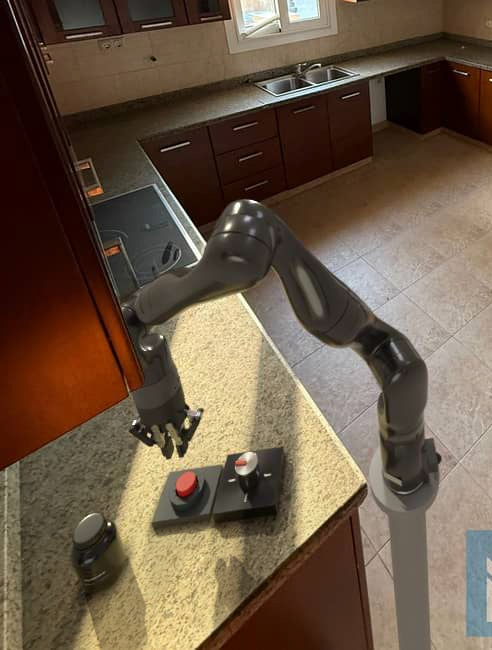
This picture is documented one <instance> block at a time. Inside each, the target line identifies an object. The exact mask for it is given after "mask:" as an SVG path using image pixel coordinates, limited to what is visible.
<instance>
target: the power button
mask: <svg viewBox="0 0 492 650" xmlns="http://www.w3.org/2000/svg"><path fill="white" fill-rule="evenodd" d="M196 485H197V480H196V477H195V474H194V473H193V472H186V473H184V474H183V475H181V476H180V478H179V479H178V481H177V483H176V490H177V493H178V495H179V496H180V497H186V496H188V495H190V494H191V493H192V492H193V491H194V489H195V488H196Z"/></svg>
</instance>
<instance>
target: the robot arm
mask: <svg viewBox="0 0 492 650" xmlns="http://www.w3.org/2000/svg"><path fill="white" fill-rule="evenodd" d="M271 269H272V270H273V272H274V273H275V274H276V275H277V278H278V280H279V282H280V284H281V286H282V288H283V291H284V295H285V296H286V299H287V301H288V304H289V307H290V309H291V311H292V313H293V315H294V317H295V319H296V321H297V322H298V324H299V326H301V328H302V329H304V330H305V331H306V332H307V333H308V334H310V335H311V336H313V337H314V338H315V339H317V340H318V341H319V342H320V343H322V344H323V345H325V346H327V347H330V348H333V349H338V350H339V349H340V350H341V349H348V348H349V349H351V350H352V351H353V352H355V354H357V355H358V356H359V358H361V359H362V360H363V362H364V363H365V364H366V365H367V367H368V369H369V370H370V372H371V374H372V376H373V378H374V380H375V382H376V383H377V385H378V387H379V389H380V390H381V392H380V393H379V395H378V397H377V402H376V412H377V413H376V414H377V423H378V436H379V446H380V449H381V461H382V477H383V480H384V483H385V485H386V486H387V488H388V489H389V490H390V491H391V492H393V493H395V494H397V495H401V496H407V495H411V494H413V493H415V492H416V491H418V490H419V489H420V488H421V486H422V485H423V484H426V483H428V474H429V473H435V472H438V464H439V465H440V464H441V463H442V461H443V458H442V455H441V454H440V453H439V452H438V451H437V450H436V443H435V438H434V437H428V438H426V433H425V432H426V431H425V409H426V407H427V403H428V397H429V396H428V395H429V370H428V367H427V363H426V362H425V360H424V359H423V357H422V355H420V353H419V351H418V349H416V347H415V346H414V344H413V343H412V341H411V340H410V338H408V337H407V336H406V335H405V334H404V333H403V332H402V331H400V330H398V329H397V328H396V327H394V326H392V325H390V324H389V323H387V322H386V321H384V320H383V319H381V318H380V317H379V316H377V315H376V314H375V312H374V311H373V310H372V308H371V307H370V306H369V305H368V304H367V303H366V302H365V301H364V300H363V299H362V298H361V297H360V296H359V295H358V294H357V293H356V292H355V291H354V290H353V289H352V288H351V287H350V286H348V284H347V283H345V282H344V281H343V280H342V279H340V278H339V277H337V276H336V275H335V274H334V273H333V272H332V271H331V270H330V269H329V268H328V267H327V266H326V265H324V263H322V262H321V261H320V259H318V258H317V257H316V255H314V254H313V253H312V252H311V251H310V250H309V249H308V247H306V245H305V244H304V243H303V241H301V239H300V238H299V237H298V236H297V235H296V234H295V232H294V231H293V230H292V229H291V228H290V227H289V225H288V224H287V223H286V222H285V221H284V220H283V218H281V217H280V216H279V214H278V213H276V212H275V211H274V210H273V209H271V208H269V207H268V206H266V205H264V204H263V203H261V202H258V201H255V200H252V199H237V200H236V199H235V200H234V201H231V202H230V203H229V204H228V205H226V206H225V208H224V209H223V211H222V212H221V214H220V216H219V217H218V220H217V222H216V224H215V225H214V227H213V229H212V231H211V234H210V235H209V238H208V239H207V241H206V244H205V246H204V249H203V254H202V256H201V258H200V259H199V260H198V262H197V263H196V265H194V267H193V268H192V267H188V266H177V267H174V268H171V269H169V270H167V271H165V272H163V273H161V274H160V275H159V276H157V277H155V278H154V279H152V281H150V282H148V283H146V284H145V285H143V286H141V287H140V288H139V289H137V290H135V292H133V293H132V294H131V295H129V297H126V299H124V300H123V301H122V302H121V303H120V304H121V307H122V310H123V315H124V319H125V321H126V324H127V327H128V330H129V333H130V336H131V339H132V341H133V343H134V346H135V349H136V352H137V355H138V358H139V361H140V363H141V366H142V368H143V370H144V375H145V382H144V384H143V386H142V387H140V388H139V389H138V390H135V391H133V392H131V395H132V399H133V402H134V405H135V408H136V411H137V414H138V415H137V416H134V419H133V421H132V423H131V425H130V427H129V429H128V433H129V434H130V435H132V436H133V437H135V438H136V439H137V440H138V441H140V442H141V443H143V444H144V445H145V446H147V447H148V448H153V447H154V446H155V445H156V446H157V448H159V449H160V451H161V455H162V456H163V458H165V460H172V458H173V455H174V452H175V450H176V453H177V455H178V458H179V459H181V458H184V457H185V455H186V454H187V452H188V449H189V446H190V443H189V442H191V441H192V440H193V438H194V435H195V433H196V432H197V429H198V428H199V425H200V424H201V420H202V418H203V414H204V412H205V409H204V408H203V407H199V408H197V410H193V409H191V408H190V406H189V404H188V403H186V397H185V391H184V388H183V384H182V380H181V376H180V373H179V370H178V368H177V365H176V363H175V360H174V358H173V355H172V351H171V348H170V344H169V341H168V339H167V337H166V336H165V335H164V334H162V333H159V332H152V331H154V329H156V327H158V326H161V325H163V324H166V323H169V322H171V321H173V320H174V319H176V318H177V317H179V316H180V315H182V314H184V313H185V312H187V311H189V310H190V309H193V308H195V307H197V306H200V305H204V304H207V303H213V302H214V301H219V300H222V299H224V298H228V297H232V296H234V295H237V294H241V293H244V292H246V291H249V290H251V289H253V288H255V287H257V286H259V285H260V284H261V283H262V282H264V280H265V279H267V276H268V274H269V272H270V270H271ZM186 419H188V423H189V424H188V425H189V426H188V428H187V427H186V424H185V423H186ZM148 434H149V435H150V436H148ZM174 443H175V445H174Z"/></svg>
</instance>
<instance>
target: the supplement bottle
mask: <svg viewBox="0 0 492 650" xmlns="http://www.w3.org/2000/svg"><path fill="white" fill-rule="evenodd" d="M120 534H121V533H120V532H119V529H118V527H117V524H116V522H115V521H114V520H113V519H111V518H107V517H106V516H105V515H104V513H103V512H98V511H96V512H93V513H90V514H88V515H87V516H85V517H84V518H83V519H81V521H80V522H79V523H78V524H77V525H76V527H75V529H74V530H73V532H72V537H71V542H72V547H71V549H70V556H69V557H70V562H71V565H72V567H73V569H74V572H75V574H76V577H77V578H78V581H79V583H80V586H81V587H82V589H83V592H85V593H86V594H89V595H96V594H100V593H102V592H104V591H106V590H107V589H108V588H110V587H111V586H112V585H114V583H115V582H116V580H118V578H119V577H120V575H121V574H122V572H123V569H124V567H125V564H126V562H127V553H126V552H127V551H126V548H125V546H124V543H123V540H122V538H121V535H120Z"/></svg>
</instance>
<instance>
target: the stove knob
mask: <svg viewBox="0 0 492 650" xmlns="http://www.w3.org/2000/svg"><path fill="white" fill-rule="evenodd" d="M246 452H247V453H244V454H243V455H241V456H240V457H239V459H238V460H237V462H236V463H235V471H236V475H237V479H238V483H239V486H240V488H241V489H243V490H249V489H252V488H253V487H255V486H256V485H257V483H258V482H259V480H260V477H261V471H260V467H259V462H258V458H257V455H256V454H255V453H253V452H250V451H246Z"/></svg>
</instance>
